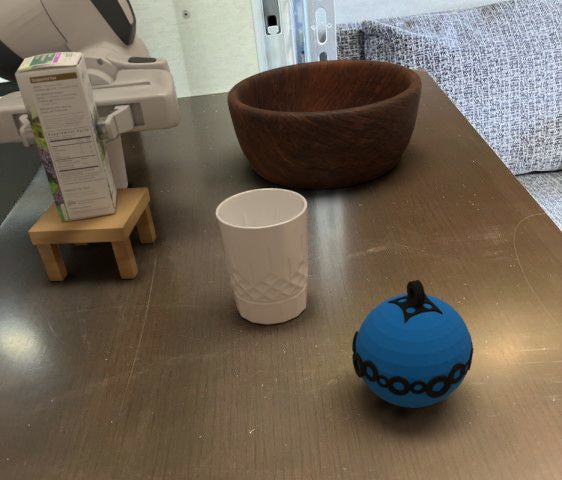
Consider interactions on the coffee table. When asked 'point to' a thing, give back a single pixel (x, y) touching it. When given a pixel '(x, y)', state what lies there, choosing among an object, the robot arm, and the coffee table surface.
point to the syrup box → (68, 134)
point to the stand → (96, 232)
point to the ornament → (412, 349)
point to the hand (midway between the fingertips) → (66, 135)
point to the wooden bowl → (325, 121)
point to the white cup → (266, 252)
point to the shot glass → (117, 161)
